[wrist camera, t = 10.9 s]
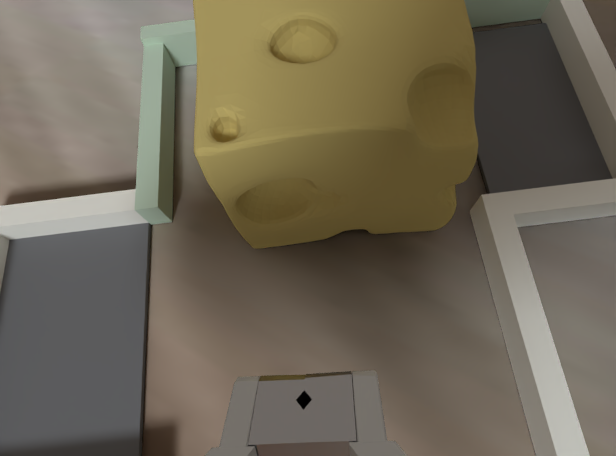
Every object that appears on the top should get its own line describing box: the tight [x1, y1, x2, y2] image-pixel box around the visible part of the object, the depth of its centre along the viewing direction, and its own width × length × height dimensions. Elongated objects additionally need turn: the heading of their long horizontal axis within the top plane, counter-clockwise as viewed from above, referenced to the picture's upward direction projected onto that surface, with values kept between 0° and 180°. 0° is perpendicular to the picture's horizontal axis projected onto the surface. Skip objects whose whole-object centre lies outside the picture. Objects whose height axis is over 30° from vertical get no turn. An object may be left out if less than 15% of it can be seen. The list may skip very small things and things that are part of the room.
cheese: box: [193, 0, 478, 249], centre depth 19 cm, size 10×11×10 cm
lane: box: [0, 0, 616, 456], centre depth 21 cm, size 35×28×2 cm
